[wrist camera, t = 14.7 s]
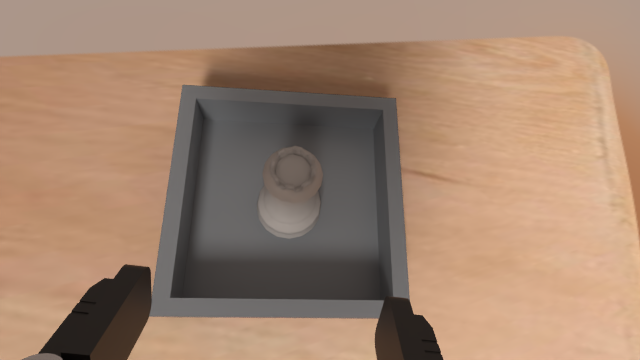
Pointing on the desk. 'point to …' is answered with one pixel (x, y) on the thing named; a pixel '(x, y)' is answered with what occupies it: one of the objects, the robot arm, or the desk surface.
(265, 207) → the rook chess piece
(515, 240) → the desk surface
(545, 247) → the desk surface
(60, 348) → the robot arm
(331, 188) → the tray
